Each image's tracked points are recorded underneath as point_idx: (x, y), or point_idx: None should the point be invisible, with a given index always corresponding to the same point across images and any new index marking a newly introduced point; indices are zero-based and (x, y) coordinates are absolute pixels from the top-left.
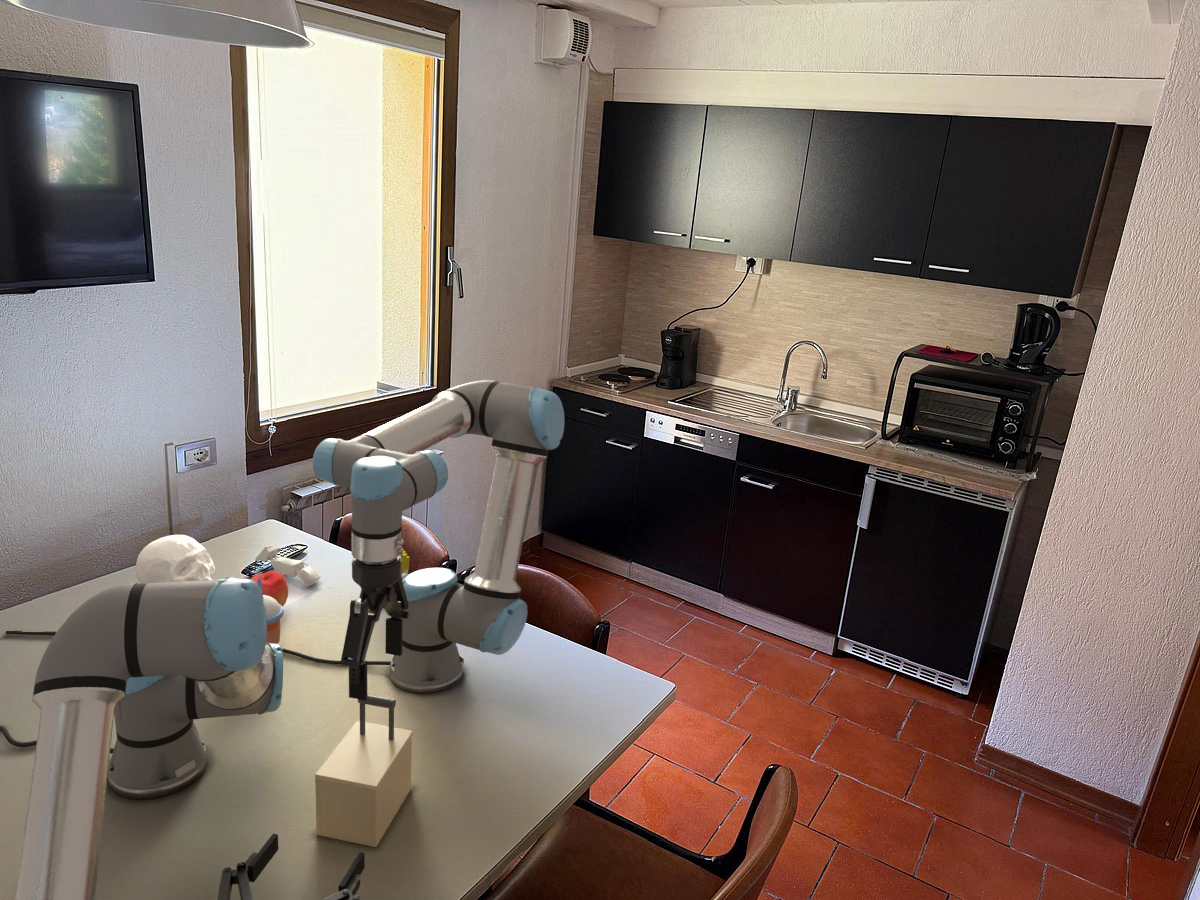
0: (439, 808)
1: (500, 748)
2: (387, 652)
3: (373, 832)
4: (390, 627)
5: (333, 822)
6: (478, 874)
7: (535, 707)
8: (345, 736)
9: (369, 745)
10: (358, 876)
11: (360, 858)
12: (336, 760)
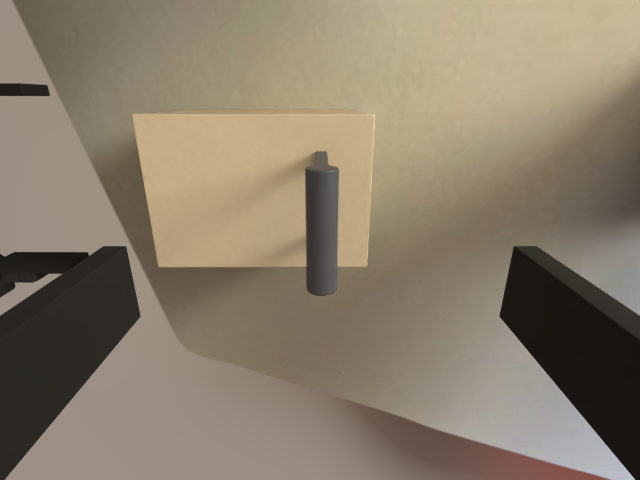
0: None
1: (480, 317)
2: (516, 258)
3: None
4: (627, 378)
5: None
6: (213, 358)
7: None
8: (297, 117)
9: (282, 194)
10: (33, 279)
11: (56, 272)
12: (199, 141)
